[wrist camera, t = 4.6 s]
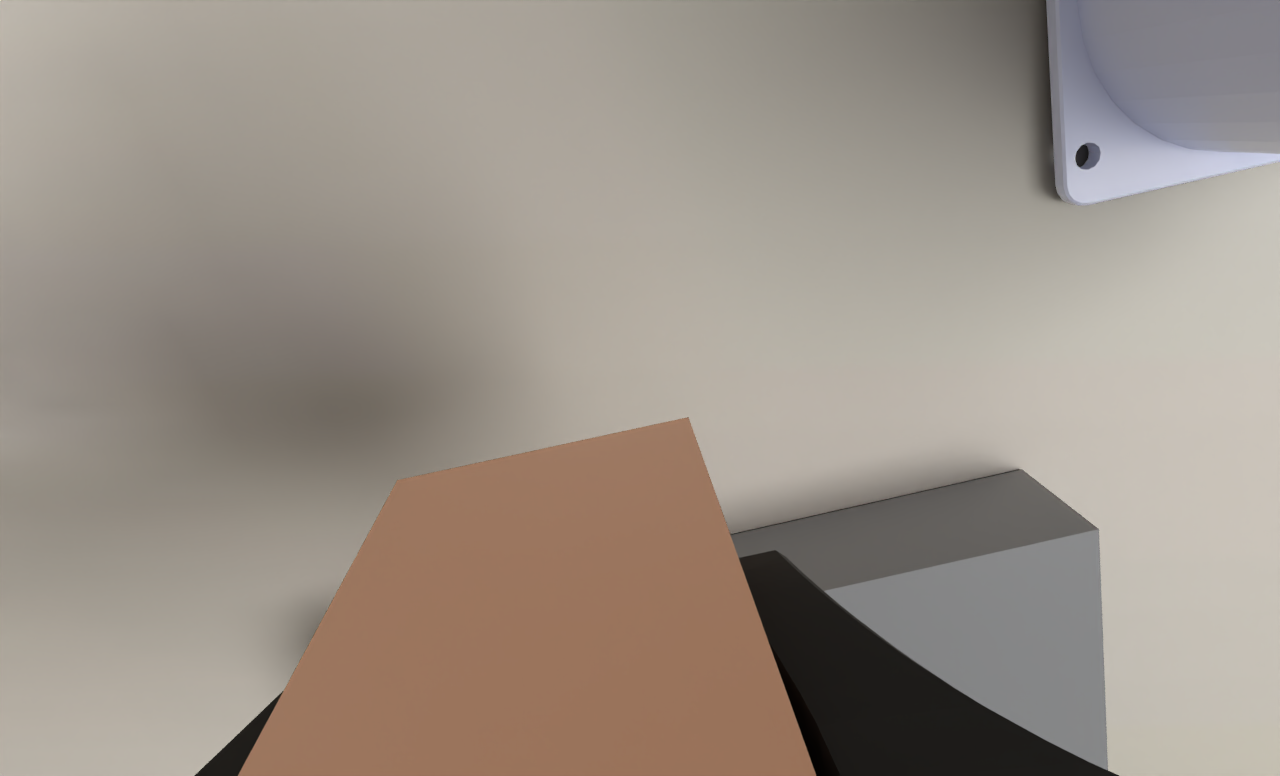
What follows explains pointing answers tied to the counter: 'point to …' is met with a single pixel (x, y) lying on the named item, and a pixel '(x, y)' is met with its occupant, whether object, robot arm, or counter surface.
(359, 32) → the counter surface
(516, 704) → the tan rectangular block
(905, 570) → the outlet box
